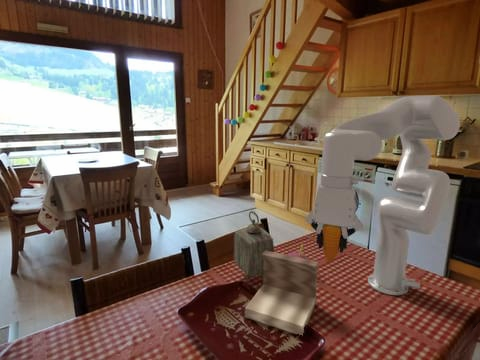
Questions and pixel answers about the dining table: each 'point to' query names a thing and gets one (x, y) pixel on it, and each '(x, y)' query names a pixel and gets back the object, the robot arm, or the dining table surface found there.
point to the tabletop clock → (251, 248)
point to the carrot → (331, 241)
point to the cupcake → (298, 254)
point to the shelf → (285, 293)
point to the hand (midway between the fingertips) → (331, 247)
